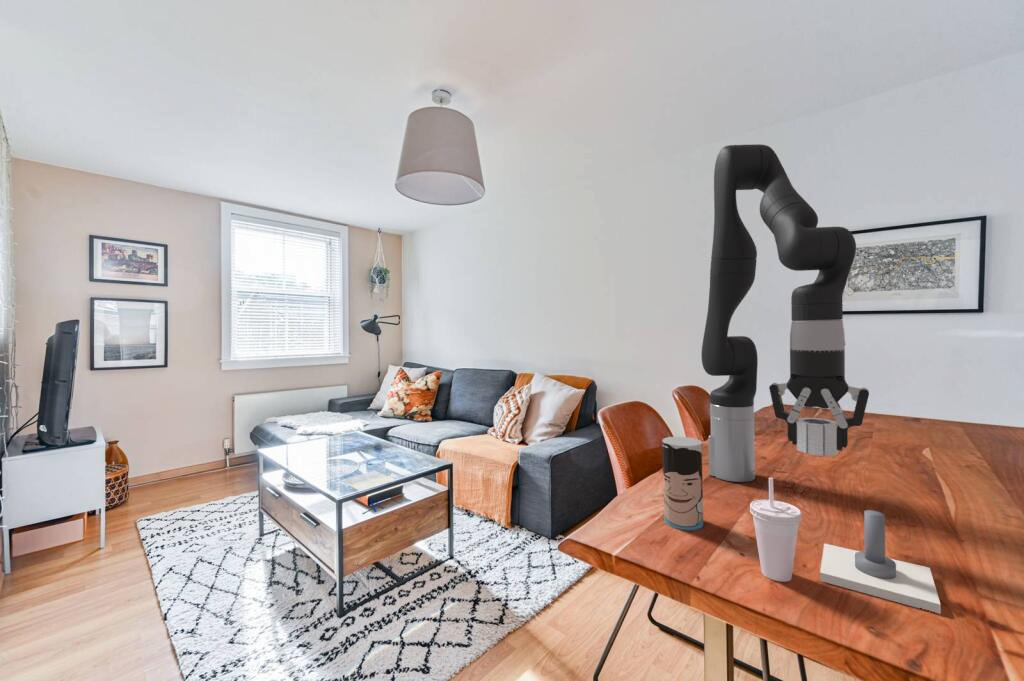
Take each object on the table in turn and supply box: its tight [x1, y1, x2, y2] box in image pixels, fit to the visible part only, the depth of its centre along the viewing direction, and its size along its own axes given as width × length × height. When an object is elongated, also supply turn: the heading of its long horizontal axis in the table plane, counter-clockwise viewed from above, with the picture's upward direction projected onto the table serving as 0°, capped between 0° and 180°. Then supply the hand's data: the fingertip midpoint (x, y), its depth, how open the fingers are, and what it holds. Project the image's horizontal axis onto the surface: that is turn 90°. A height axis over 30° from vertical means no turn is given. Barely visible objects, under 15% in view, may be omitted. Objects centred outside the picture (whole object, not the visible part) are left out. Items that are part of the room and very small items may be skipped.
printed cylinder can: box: [661, 436, 704, 531], centre depth 79 cm, size 7×7×15 cm
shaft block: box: [819, 509, 942, 615], centre depth 60 cm, size 12×10×9 cm
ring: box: [795, 417, 839, 457], centre depth 73 cm, size 6×6×5 cm
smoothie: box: [749, 477, 803, 583], centre depth 62 cm, size 6×6×14 cm
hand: (817, 446), depth 73 cm, fingers closed on ring, 5 cm apart
